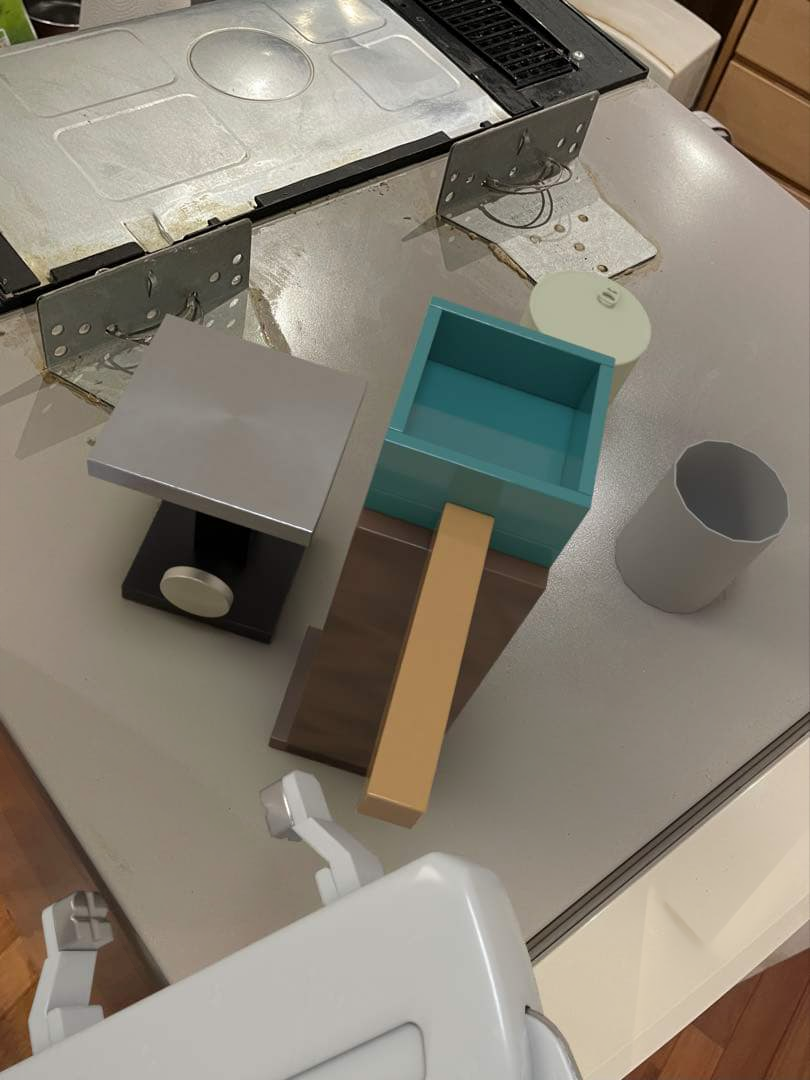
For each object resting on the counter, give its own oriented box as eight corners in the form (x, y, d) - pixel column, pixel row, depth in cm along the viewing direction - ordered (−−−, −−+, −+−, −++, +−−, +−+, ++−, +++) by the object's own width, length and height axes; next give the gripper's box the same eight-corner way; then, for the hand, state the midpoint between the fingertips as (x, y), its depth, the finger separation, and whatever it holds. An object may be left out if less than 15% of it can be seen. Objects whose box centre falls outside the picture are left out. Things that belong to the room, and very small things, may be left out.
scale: (100, 605, 63) (86, 458, 50) (164, 474, 69) (166, 312, 56) (279, 663, 64) (313, 533, 50) (327, 528, 70) (368, 380, 56)
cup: (593, 550, 74) (649, 473, 65) (660, 499, 78) (720, 421, 69) (675, 633, 71) (744, 565, 63) (740, 577, 75) (812, 505, 67)
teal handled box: (268, 787, 33) (283, 740, 29) (408, 367, 44) (432, 294, 40) (495, 859, 33) (538, 821, 30) (577, 424, 44) (616, 357, 41)
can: (611, 414, 81) (675, 311, 71) (560, 483, 76) (622, 382, 66) (518, 354, 83) (568, 245, 73) (462, 418, 78) (508, 310, 68)
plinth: (268, 746, 61) (331, 518, 39) (306, 635, 65) (381, 376, 43) (422, 795, 61) (570, 597, 39) (449, 681, 66) (595, 448, 44)
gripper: (589, 1202, 23) (387, 680, 30) (-70, 1471, 27) (-112, 960, 34) (648, 1155, 28) (464, 722, 35) (88, 1386, 32) (24, 959, 39)
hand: (176, 841), depth 34 cm, fingers open, 8 cm apart
